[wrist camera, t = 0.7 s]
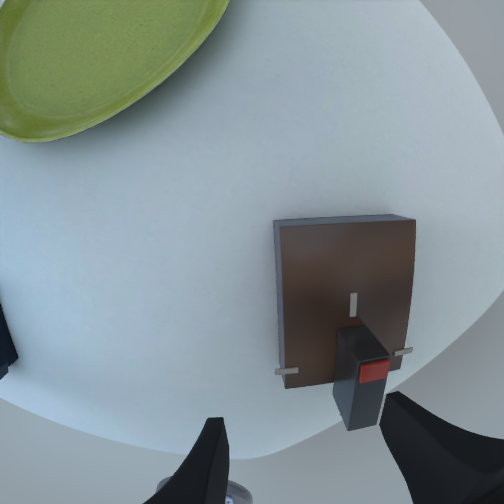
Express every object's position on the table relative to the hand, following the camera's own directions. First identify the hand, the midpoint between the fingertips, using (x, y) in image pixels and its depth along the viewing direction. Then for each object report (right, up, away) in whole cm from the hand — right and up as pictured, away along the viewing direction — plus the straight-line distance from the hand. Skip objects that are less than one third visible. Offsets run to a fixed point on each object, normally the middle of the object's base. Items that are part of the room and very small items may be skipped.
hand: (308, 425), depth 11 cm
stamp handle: (+3, +1, +6) cm, 7 cm away
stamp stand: (+3, +3, +8) cm, 10 cm away
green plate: (-14, +25, +3) cm, 28 cm away
